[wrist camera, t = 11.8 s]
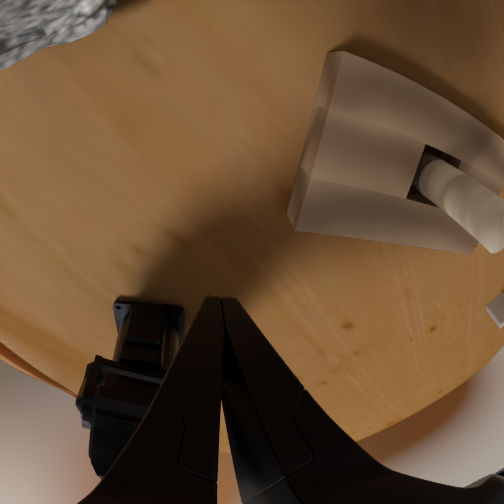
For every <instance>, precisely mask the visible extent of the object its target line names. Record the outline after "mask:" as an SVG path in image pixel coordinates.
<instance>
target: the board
mask: <svg viewBox="0 0 504 504" xmlns="http://www.w3.org/2000/svg"><path fill="white" fill-rule="evenodd" d="M425 144H427V145H430V146H432V147H434V148H436V149H438V150H441V151H442V153H441V156H440V158H441V159H442V160H444V161H446V162H447V163H448V164H450V165H452V166H453V167H455V168H457V169H458V170H460V171H462V172H463V173H465V174H467V175H468V176H470V177H471V178H473V179H475V180H476V181H478V182H479V183H481V184H482V185H484V186H485V187H487V188H488V189H490V190H491V191H493V192H494V193H495V194H497V195H498V196H499V195H500V193H501V190H502V187H503V185H504V139H502V138H501V137H500V136H499V135H497V134H496V133H495V132H493V131H492V130H491V129H489V128H488V127H487V126H485V125H484V124H482V123H481V122H480V121H478V120H477V119H475V118H474V117H472V116H471V115H470V114H468V113H467V112H465V111H464V110H462V109H460V108H459V107H457V106H456V105H454V104H453V103H451V102H449V101H448V100H446V99H444V98H443V97H441V96H439V95H438V94H436V93H434V92H432V91H430V90H429V89H427V88H425V87H423V86H421V85H419V84H418V83H416V82H414V81H412V80H410V79H408V78H406V77H404V76H402V75H400V74H398V73H395V72H393V71H391V70H389V69H387V68H385V67H382V66H380V65H378V64H375V63H373V62H371V61H368V60H366V59H363V58H361V57H358V56H356V55H353V54H350V53H348V52H345V51H337V52H328V53H327V56H326V60H325V64H324V68H323V73H322V77H321V81H320V85H319V89H318V93H317V97H316V101H315V105H314V109H313V114H312V118H311V122H310V125H309V129H308V133H307V137H306V141H305V145H304V149H303V153H302V157H301V161H300V164H299V168H298V172H297V176H296V180H295V183H294V187H293V191H292V195H291V198H290V202H289V206H288V209H287V213H286V214H287V216H288V218H289V220H290V222H291V224H292V226H293V228H294V230H295V231H300V232H309V233H317V234H325V235H333V236H341V237H349V238H357V239H365V240H372V241H380V242H387V243H394V244H401V245H408V246H415V247H422V248H429V249H436V250H442V251H449V252H455V253H462V254H468V255H472V253H473V251H474V249H475V247H476V245H477V243H478V240H476V239H475V238H474V237H473V236H472V235H471V234H470V233H469V232H468V231H467V230H465V229H464V228H463V227H462V226H461V225H460V224H459V223H457V222H456V221H455V220H454V219H453V218H452V217H450V216H449V215H448V214H447V213H446V212H444V211H443V210H442V209H441V208H439V207H438V206H437V205H436V204H434V203H433V202H432V201H431V200H429V199H428V198H426V197H424V196H423V195H422V194H418V193H415V192H411V191H409V189H410V187H411V184H412V181H413V178H414V176H415V173H416V170H417V167H418V165H419V162H420V159H421V156H422V153H423V150H424V147H425Z"/></svg>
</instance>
